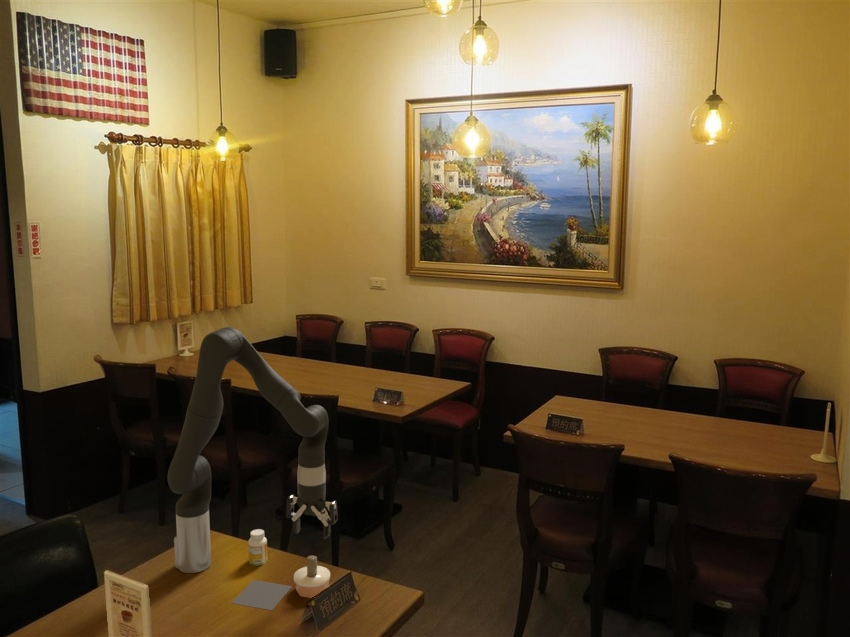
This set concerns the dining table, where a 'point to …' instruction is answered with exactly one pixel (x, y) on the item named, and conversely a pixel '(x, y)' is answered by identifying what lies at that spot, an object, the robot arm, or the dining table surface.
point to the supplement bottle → (257, 548)
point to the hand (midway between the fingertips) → (311, 534)
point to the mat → (261, 595)
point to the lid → (312, 574)
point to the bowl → (310, 590)
